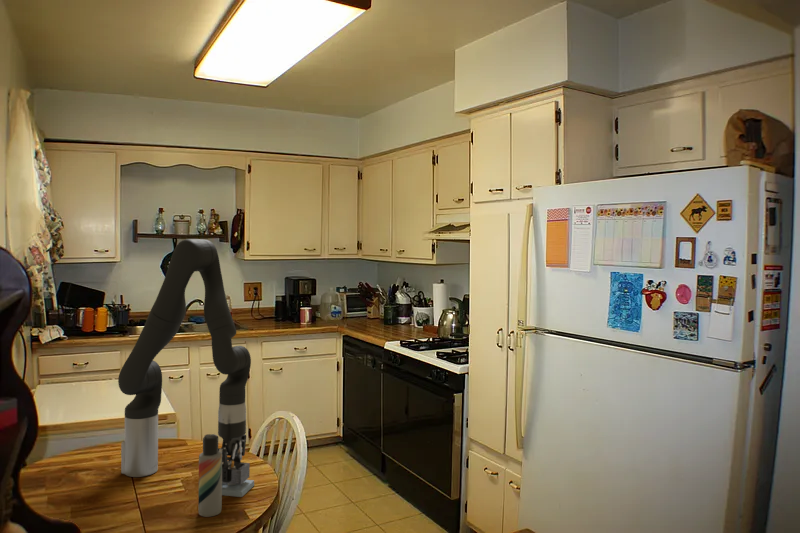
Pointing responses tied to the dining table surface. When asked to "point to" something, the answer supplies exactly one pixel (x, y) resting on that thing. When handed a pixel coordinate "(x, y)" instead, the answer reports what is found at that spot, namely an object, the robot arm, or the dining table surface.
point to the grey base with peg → (237, 487)
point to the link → (239, 473)
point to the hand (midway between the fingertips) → (231, 477)
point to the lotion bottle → (210, 477)
